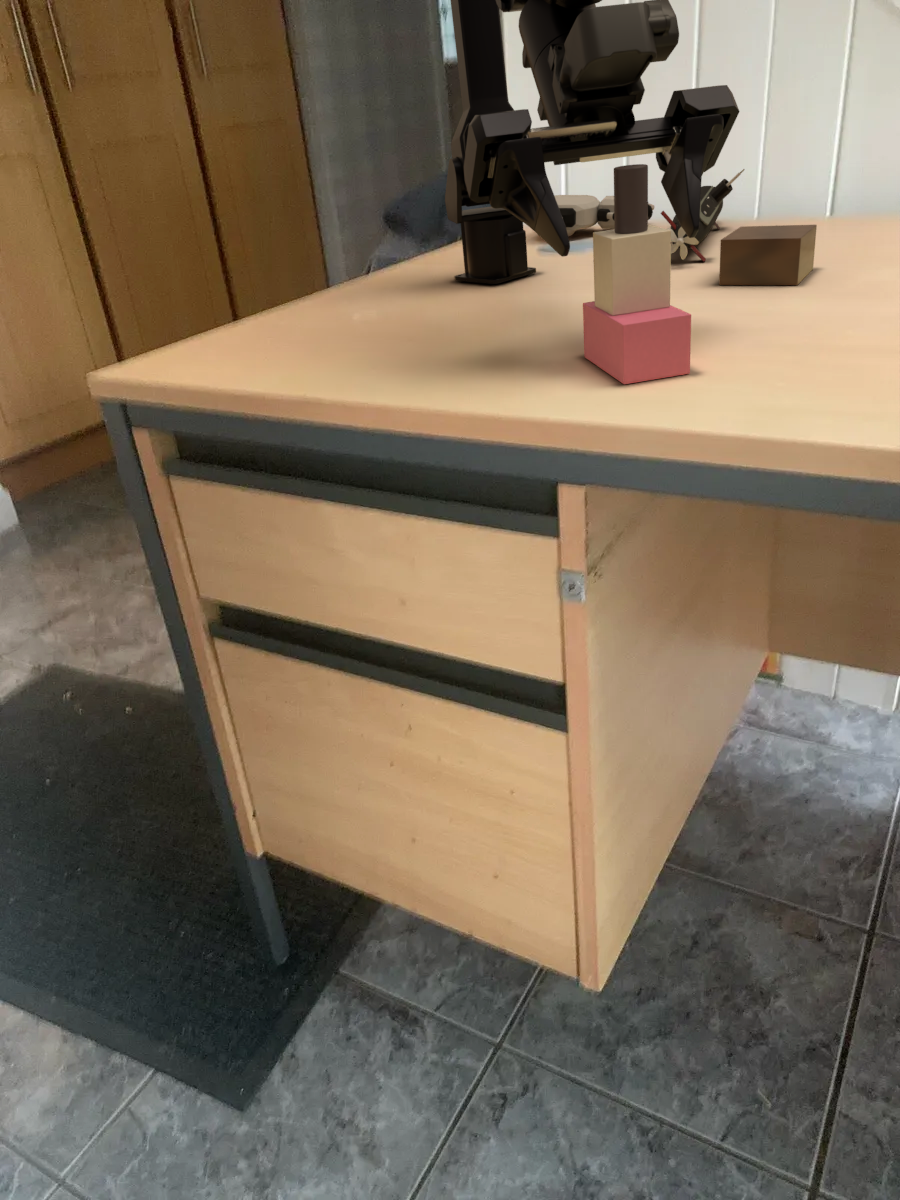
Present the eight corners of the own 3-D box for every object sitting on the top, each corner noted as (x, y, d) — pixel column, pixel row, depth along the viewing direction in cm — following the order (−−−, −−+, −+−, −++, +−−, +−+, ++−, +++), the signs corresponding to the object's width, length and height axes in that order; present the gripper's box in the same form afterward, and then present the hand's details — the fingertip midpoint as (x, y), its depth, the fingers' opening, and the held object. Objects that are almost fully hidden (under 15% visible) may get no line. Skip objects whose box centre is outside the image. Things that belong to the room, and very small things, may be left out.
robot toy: (655, 228, 125) (543, 226, 128) (657, 191, 122) (544, 190, 126) (646, 244, 115) (525, 242, 118) (649, 204, 112) (526, 203, 116)
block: (718, 285, 87) (720, 239, 85) (738, 269, 92) (740, 226, 90) (797, 285, 84) (801, 238, 82) (813, 269, 89) (816, 224, 87)
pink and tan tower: (584, 357, 70) (578, 168, 64) (644, 347, 71) (644, 159, 65) (623, 384, 63) (621, 175, 57) (690, 373, 64) (695, 165, 58)
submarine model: (673, 292, 97) (753, 219, 91) (629, 244, 96) (707, 167, 90) (703, 240, 122) (766, 181, 117) (668, 201, 121) (731, 139, 116)
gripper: (456, -28, 59) (515, 173, 55) (732, -55, 62) (809, 135, 57) (443, 112, 70) (492, 290, 65) (679, 84, 72) (742, 253, 68)
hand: (631, 242), depth 64 cm, fingers open, 9 cm apart
